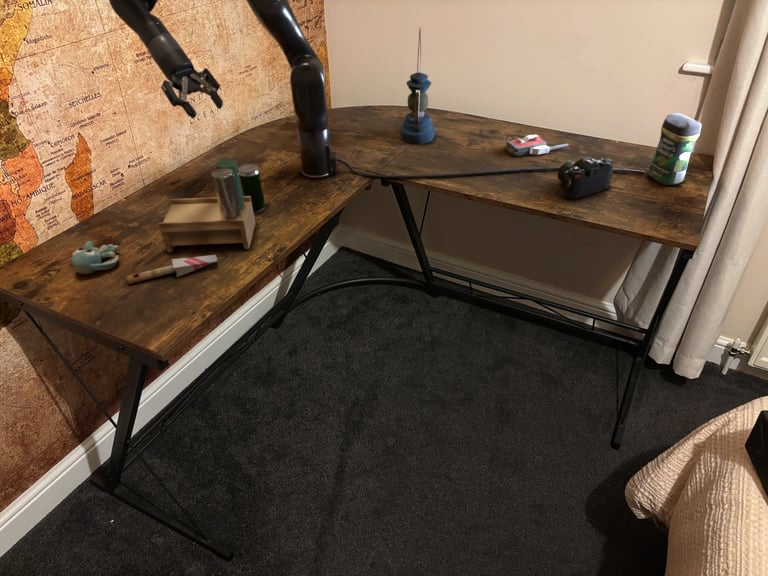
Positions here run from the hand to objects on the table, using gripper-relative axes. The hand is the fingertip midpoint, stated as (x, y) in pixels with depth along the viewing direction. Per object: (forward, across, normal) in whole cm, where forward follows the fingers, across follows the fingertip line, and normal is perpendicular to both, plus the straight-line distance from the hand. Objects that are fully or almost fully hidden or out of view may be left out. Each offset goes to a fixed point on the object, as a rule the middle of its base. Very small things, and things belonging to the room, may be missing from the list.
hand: (208, 111), depth 143 cm
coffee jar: (+86, +81, -55) cm, 130 cm away
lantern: (+33, +65, 0) cm, 73 cm away
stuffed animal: (+19, -40, +17) cm, 47 cm away
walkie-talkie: (+58, +78, -26) cm, 101 cm away
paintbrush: (+31, -32, +4) cm, 45 cm away
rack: (+28, -16, +7) cm, 33 cm away
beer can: (+26, 0, +8) cm, 28 cm away
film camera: (+73, +61, -41) cm, 103 cm away
